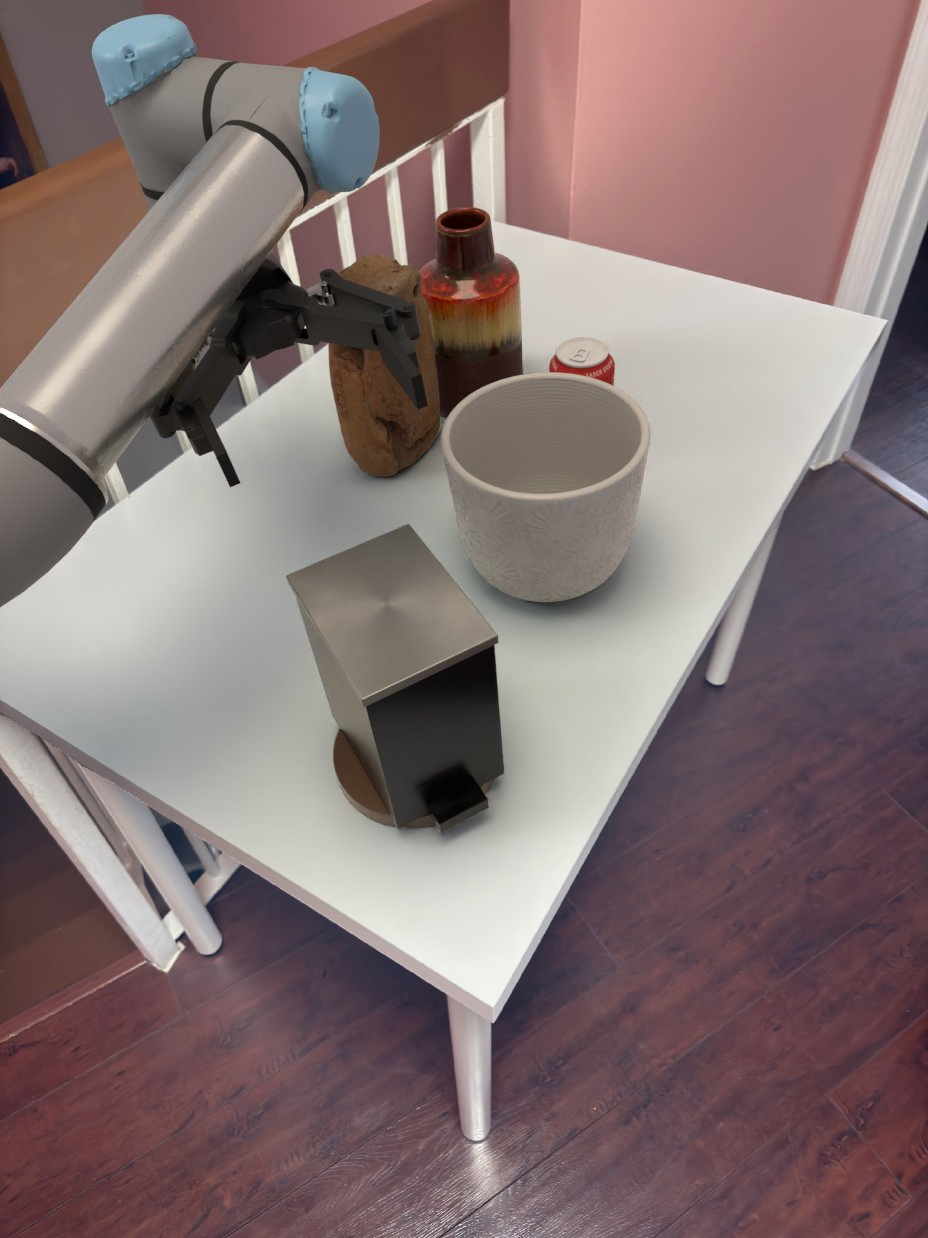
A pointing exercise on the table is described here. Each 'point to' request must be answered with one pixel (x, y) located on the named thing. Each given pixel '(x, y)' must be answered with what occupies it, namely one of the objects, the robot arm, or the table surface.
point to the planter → (546, 481)
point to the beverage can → (584, 359)
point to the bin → (406, 675)
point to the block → (385, 381)
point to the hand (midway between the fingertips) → (326, 431)
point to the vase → (471, 307)
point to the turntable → (367, 786)
